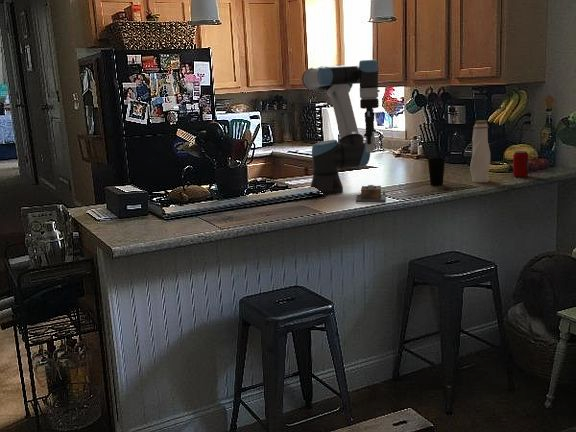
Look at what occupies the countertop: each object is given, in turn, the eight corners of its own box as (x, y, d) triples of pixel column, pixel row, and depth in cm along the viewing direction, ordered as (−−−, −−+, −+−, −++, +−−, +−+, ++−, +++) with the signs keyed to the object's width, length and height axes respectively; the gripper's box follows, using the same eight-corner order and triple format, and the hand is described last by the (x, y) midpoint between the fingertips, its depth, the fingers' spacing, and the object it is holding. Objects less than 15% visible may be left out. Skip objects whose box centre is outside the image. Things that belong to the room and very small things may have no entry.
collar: (361, 199, 266) (361, 189, 265) (362, 195, 274) (362, 186, 273) (380, 198, 265) (380, 189, 264) (381, 194, 273) (380, 185, 272)
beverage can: (531, 176, 302) (531, 151, 300) (519, 178, 300) (520, 152, 297) (521, 174, 308) (521, 150, 306) (509, 176, 306) (510, 151, 303)
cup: (445, 185, 291) (445, 159, 288) (428, 186, 293) (428, 160, 290) (444, 183, 298) (444, 157, 296) (428, 183, 300) (427, 158, 297)
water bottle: (464, 180, 302) (465, 121, 296) (480, 178, 305) (481, 119, 299) (478, 183, 293) (478, 122, 287) (494, 181, 296) (495, 120, 290)
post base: (356, 202, 265) (355, 188, 264) (357, 197, 277) (357, 183, 275) (385, 202, 263) (385, 187, 262) (385, 196, 274) (385, 182, 273)
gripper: (377, 99, 249) (378, 153, 254) (379, 96, 273) (380, 145, 278) (357, 100, 251) (359, 154, 256) (362, 97, 275) (363, 146, 280)
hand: (370, 149), depth 267 cm, fingers open, 13 cm apart
